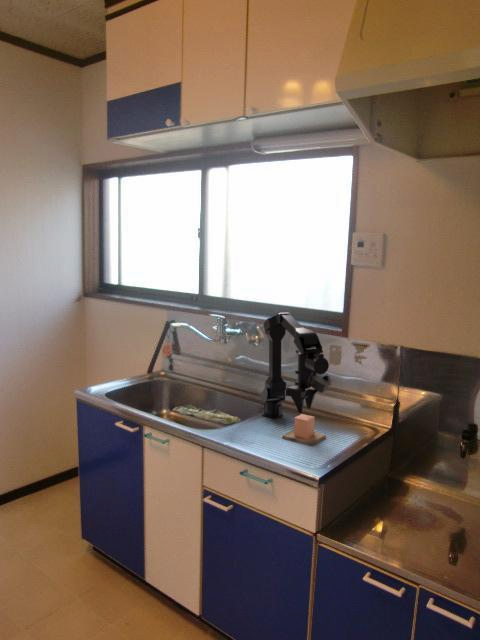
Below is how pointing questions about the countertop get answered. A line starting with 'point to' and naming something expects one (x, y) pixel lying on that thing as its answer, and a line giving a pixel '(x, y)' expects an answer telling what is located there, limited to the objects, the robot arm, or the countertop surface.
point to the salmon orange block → (304, 426)
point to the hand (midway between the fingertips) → (304, 410)
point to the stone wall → (207, 414)
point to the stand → (309, 441)
